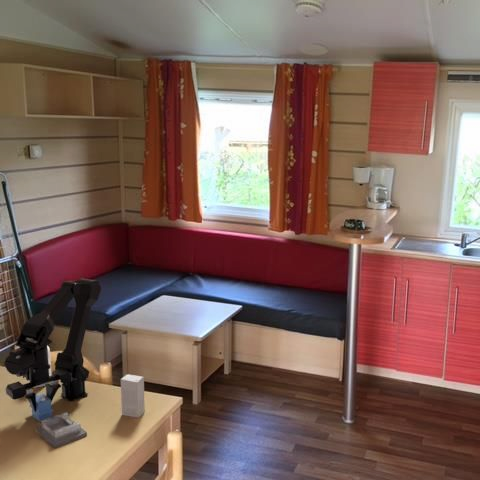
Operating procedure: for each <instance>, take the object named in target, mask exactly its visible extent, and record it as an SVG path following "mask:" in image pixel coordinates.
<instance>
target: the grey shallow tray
mask: <svg viewBox="0 0 480 480" xmlns="http://www.w3.org/2000/svg"><path fill="white" fill-rule="evenodd" d="M40 423H41V424H40V426H37V427H35V432H36V433H37V434H38V435H40V436H41V437H42V438H43V439H44V440H45V441H46V442H47V443H48V444H49V445H50V446H52V448H53V449H57V448H58V447H61V446H63V445H66V444H68V443H71V442H74V441H76V440H79V439H82V438H84V437H86V436H87V437H88V433H87V431H86V430H85V429H83V428H82V423H80V421H79V422H78V421H77V422H75V421H74V420H72V419H71V418H70V417H69V413H68V412H63V413H59V414H57V415H54V416H52V417H51V418H48V419H45V420H43V421H40Z"/></svg>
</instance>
